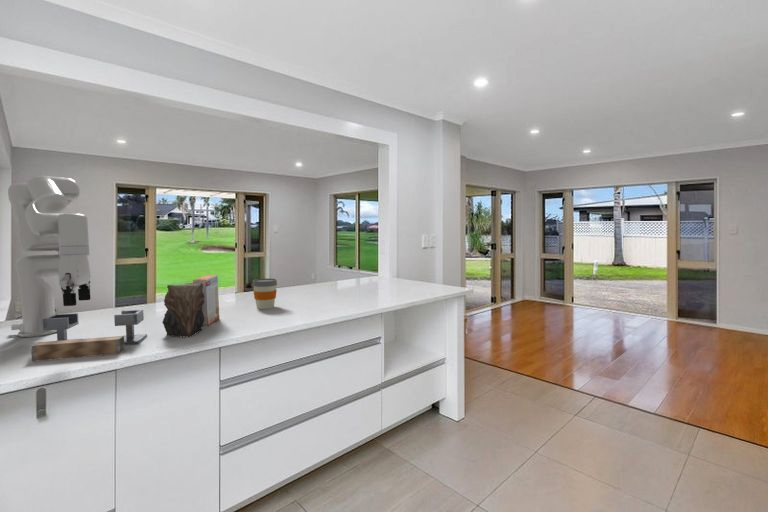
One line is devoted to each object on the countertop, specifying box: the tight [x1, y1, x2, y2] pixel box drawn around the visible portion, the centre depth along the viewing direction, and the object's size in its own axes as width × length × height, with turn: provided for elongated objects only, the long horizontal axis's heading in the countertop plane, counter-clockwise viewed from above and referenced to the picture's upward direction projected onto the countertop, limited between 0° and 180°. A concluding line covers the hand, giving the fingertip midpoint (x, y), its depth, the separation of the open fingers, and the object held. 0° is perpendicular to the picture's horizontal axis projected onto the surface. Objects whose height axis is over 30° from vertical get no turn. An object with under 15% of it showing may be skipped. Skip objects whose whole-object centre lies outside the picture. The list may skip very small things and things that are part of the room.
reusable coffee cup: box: [252, 278, 278, 310], centre depth 197 cm, size 13×13×15 cm
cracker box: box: [192, 274, 220, 327], centre depth 164 cm, size 14×6×21 cm, turn 5°
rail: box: [30, 335, 125, 362], centre depth 121 cm, size 24×4×5 cm, turn 108°
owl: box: [162, 282, 204, 338], centre depth 149 cm, size 13×13×20 cm
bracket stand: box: [43, 309, 148, 346], centre depth 134 cm, size 29×10×11 cm, turn 108°
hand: (77, 302), depth 120 cm, fingers open, 9 cm apart
